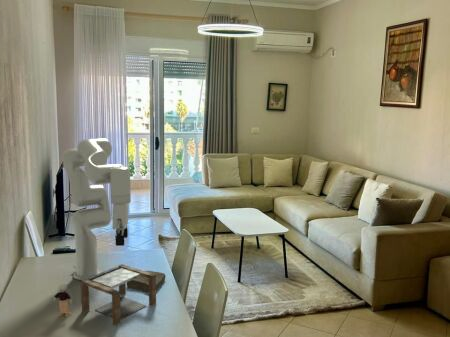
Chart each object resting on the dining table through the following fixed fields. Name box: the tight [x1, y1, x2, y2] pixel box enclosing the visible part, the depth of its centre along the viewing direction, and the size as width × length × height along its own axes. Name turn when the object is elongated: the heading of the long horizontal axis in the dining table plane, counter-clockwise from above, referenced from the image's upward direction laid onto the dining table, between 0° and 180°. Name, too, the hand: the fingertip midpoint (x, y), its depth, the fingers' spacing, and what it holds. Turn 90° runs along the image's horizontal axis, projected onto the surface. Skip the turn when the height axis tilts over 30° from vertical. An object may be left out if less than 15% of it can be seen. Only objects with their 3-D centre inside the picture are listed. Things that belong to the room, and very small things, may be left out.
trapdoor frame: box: [80, 264, 157, 327], centre depth 169 cm, size 20×21×13 cm
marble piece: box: [126, 270, 166, 294], centre depth 192 cm, size 17×15×4 cm
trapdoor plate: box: [88, 266, 140, 289], centre depth 170 cm, size 13×15×1 cm
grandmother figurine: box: [53, 282, 73, 318], centre depth 163 cm, size 8×4×13 cm, turn 86°
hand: (121, 241), depth 168 cm, fingers open, 9 cm apart
